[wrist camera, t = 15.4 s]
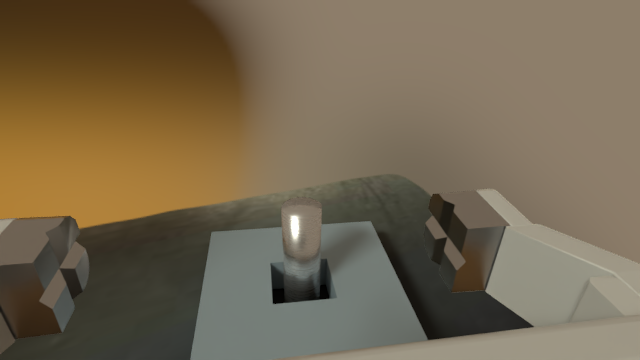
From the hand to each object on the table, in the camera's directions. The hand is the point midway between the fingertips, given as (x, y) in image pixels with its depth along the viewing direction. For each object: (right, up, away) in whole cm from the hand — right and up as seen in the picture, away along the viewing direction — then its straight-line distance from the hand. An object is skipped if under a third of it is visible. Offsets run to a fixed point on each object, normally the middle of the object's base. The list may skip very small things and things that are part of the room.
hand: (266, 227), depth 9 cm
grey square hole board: (0, -10, +25) cm, 27 cm away
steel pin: (0, -10, +25) cm, 27 cm away
